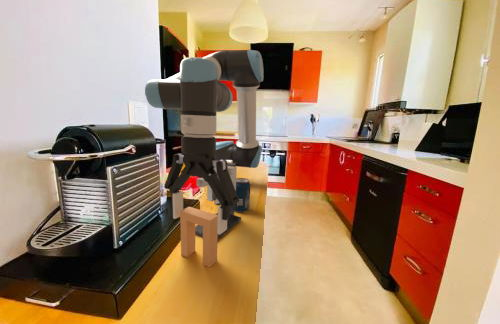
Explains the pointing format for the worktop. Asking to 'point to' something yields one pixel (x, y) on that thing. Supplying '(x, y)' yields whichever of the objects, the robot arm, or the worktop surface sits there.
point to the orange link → (210, 235)
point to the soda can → (242, 195)
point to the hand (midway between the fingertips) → (198, 223)
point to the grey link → (232, 174)
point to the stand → (230, 222)
